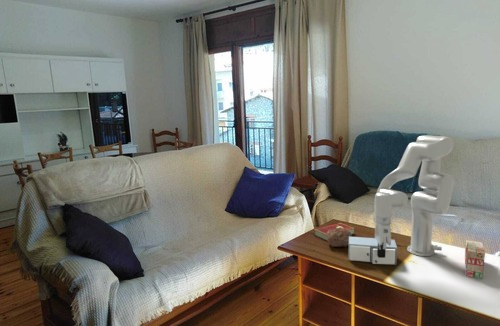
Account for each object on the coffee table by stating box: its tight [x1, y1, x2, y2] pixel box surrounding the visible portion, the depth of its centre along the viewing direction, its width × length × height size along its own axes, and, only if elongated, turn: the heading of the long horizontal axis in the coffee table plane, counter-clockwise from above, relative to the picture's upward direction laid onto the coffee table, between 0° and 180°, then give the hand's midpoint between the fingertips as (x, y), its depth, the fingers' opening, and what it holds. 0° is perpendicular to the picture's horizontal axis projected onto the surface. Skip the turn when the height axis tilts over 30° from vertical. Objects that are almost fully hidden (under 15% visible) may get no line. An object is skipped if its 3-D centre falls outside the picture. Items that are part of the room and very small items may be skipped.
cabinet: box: [348, 236, 398, 263], centre depth 172 cm, size 22×12×8 cm, turn 75°
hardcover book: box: [313, 222, 356, 242], centre depth 207 cm, size 12×21×4 cm, turn 120°
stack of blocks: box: [464, 240, 486, 280], centre depth 160 cm, size 21×6×12 cm, turn 150°
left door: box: [371, 247, 398, 266], centre depth 165 cm, size 11×2×8 cm, turn 83°
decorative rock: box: [327, 228, 353, 248], centre depth 190 cm, size 13×11×10 cm
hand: (381, 256), depth 163 cm, fingers closed
